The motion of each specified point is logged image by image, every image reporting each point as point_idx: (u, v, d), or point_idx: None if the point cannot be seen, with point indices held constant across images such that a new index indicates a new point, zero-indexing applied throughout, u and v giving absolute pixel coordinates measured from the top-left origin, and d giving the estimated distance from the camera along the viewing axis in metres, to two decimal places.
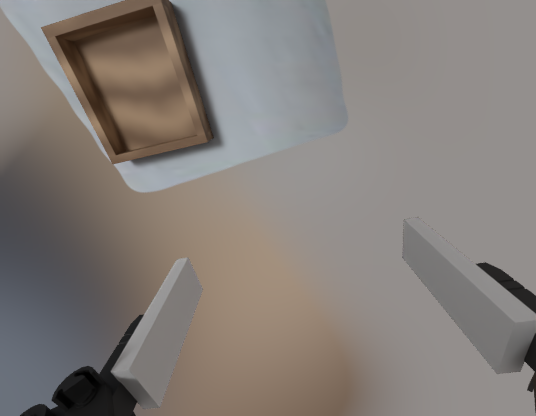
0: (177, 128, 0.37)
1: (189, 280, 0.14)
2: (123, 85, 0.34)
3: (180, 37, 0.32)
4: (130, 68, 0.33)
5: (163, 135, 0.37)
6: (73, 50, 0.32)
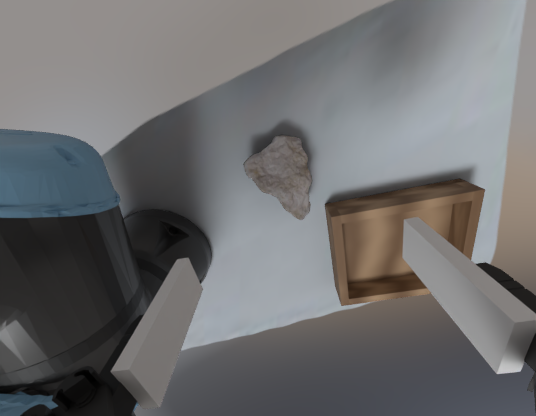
0: (439, 218, 0.32)
1: (189, 280, 0.14)
2: (384, 258, 0.35)
3: (355, 200, 0.31)
4: (372, 249, 0.35)
5: (441, 233, 0.33)
6: (352, 288, 0.37)
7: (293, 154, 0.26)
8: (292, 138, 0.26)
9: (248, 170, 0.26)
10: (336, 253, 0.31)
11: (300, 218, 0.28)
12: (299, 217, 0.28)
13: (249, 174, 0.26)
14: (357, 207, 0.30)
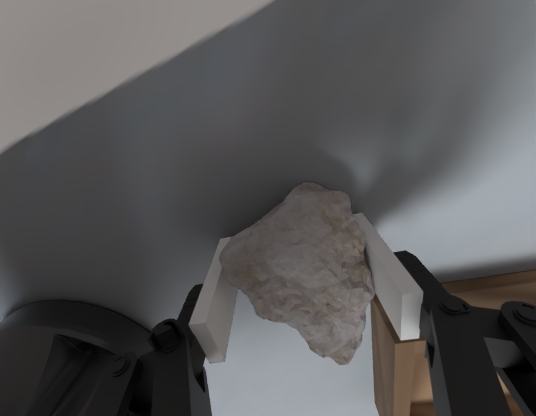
0: None
1: None
2: None
3: None
4: None
5: None
6: None
7: (336, 236, 0.11)
8: (331, 196, 0.11)
9: (229, 273, 0.11)
10: (395, 394, 0.16)
11: (345, 363, 0.13)
12: (343, 362, 0.13)
13: (232, 282, 0.11)
14: None
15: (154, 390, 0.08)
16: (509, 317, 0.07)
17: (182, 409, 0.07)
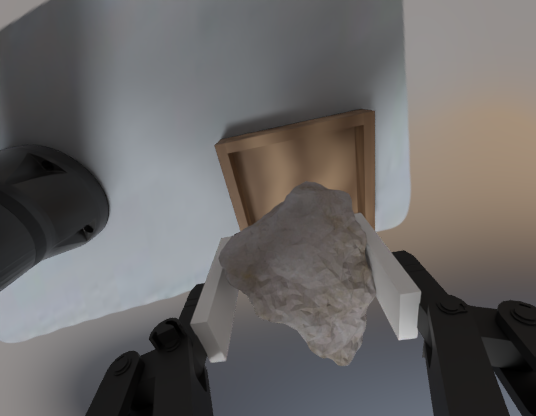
0: (343, 154, 0.30)
1: None
2: None
3: (250, 133, 0.29)
4: (278, 192, 0.32)
5: (348, 173, 0.31)
6: None
7: (336, 236, 0.11)
8: (332, 195, 0.11)
9: (229, 273, 0.11)
10: (229, 191, 0.29)
11: (345, 364, 0.13)
12: (343, 363, 0.13)
13: (232, 283, 0.11)
14: (246, 136, 0.27)
15: (156, 389, 0.08)
16: (506, 317, 0.07)
17: (184, 408, 0.07)
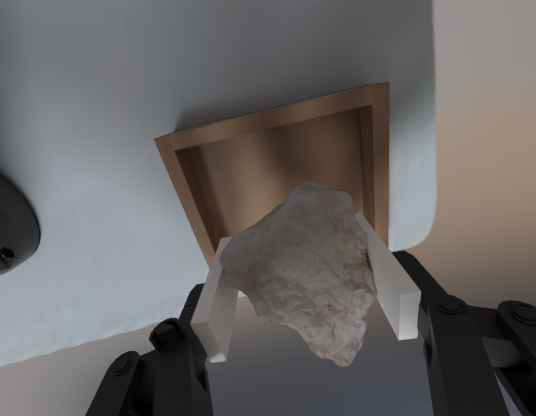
0: (343, 150, 0.21)
1: None
2: None
3: (212, 122, 0.21)
4: (255, 203, 0.24)
5: (351, 177, 0.22)
6: None
7: (337, 237, 0.11)
8: (333, 196, 0.11)
9: (230, 274, 0.11)
10: (183, 203, 0.20)
11: (346, 365, 0.13)
12: (344, 364, 0.13)
13: (232, 283, 0.11)
14: (202, 126, 0.19)
15: (156, 389, 0.08)
16: (506, 317, 0.07)
17: (183, 408, 0.07)
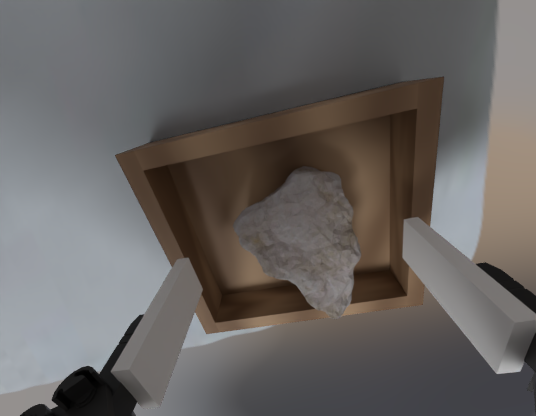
0: (367, 167, 0.16)
1: (189, 280, 0.14)
2: None
3: (197, 131, 0.16)
4: None
5: (376, 200, 0.17)
6: (232, 301, 0.21)
7: (328, 208, 0.14)
8: (325, 175, 0.14)
9: (242, 238, 0.14)
10: (159, 237, 0.16)
11: (337, 317, 0.15)
12: (335, 316, 0.15)
13: (244, 246, 0.14)
14: (181, 137, 0.14)
15: None
16: None
17: None
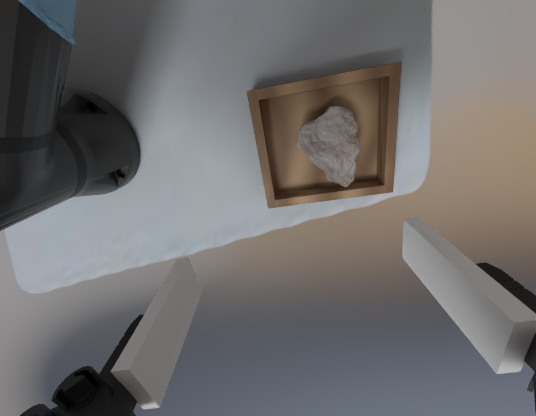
0: (366, 111, 0.31)
1: (189, 280, 0.14)
2: None
3: None
4: (300, 148, 0.34)
5: (370, 131, 0.32)
6: (283, 193, 0.36)
7: (346, 123, 0.28)
8: (345, 109, 0.29)
9: (303, 135, 0.28)
10: (256, 139, 0.30)
11: (346, 184, 0.30)
12: (345, 183, 0.30)
13: (304, 139, 0.28)
14: None
15: None
16: None
17: None
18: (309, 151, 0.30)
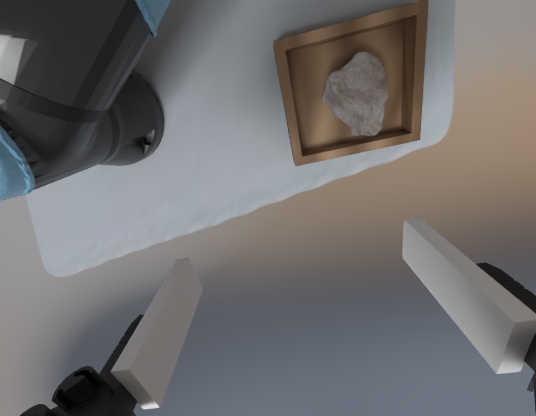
0: (390, 59, 0.31)
1: (189, 280, 0.14)
2: None
3: None
4: (325, 103, 0.34)
5: (394, 80, 0.32)
6: (308, 152, 0.36)
7: (374, 69, 0.28)
8: (371, 55, 0.29)
9: (332, 83, 0.28)
10: (283, 92, 0.30)
11: (375, 132, 0.30)
12: (374, 131, 0.30)
13: (333, 87, 0.28)
14: None
15: None
16: None
17: None
18: (337, 100, 0.30)
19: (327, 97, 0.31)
